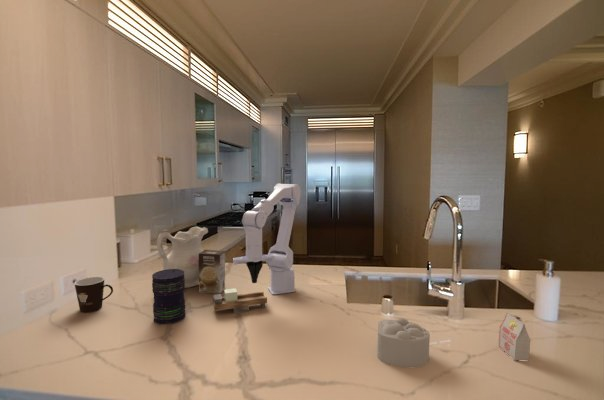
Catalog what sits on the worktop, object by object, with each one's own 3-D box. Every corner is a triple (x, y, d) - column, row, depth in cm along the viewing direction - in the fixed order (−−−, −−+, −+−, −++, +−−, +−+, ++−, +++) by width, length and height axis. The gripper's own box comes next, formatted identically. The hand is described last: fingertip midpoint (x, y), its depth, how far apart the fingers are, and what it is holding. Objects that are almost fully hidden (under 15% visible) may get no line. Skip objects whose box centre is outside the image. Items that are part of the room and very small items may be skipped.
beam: (263, 301, 116) (263, 287, 116) (267, 308, 110) (267, 293, 110) (213, 308, 110) (212, 294, 109) (214, 316, 104) (214, 300, 104)
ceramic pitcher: (177, 299, 120) (179, 236, 117) (146, 285, 130) (147, 227, 127) (218, 283, 138) (221, 228, 135) (189, 272, 148) (191, 220, 145)
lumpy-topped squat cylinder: (377, 341, 90) (378, 312, 89) (425, 348, 87) (427, 318, 86) (377, 363, 80) (378, 330, 79) (431, 371, 77) (433, 338, 76)
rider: (235, 298, 111) (235, 288, 111) (237, 302, 108) (237, 291, 107) (224, 299, 110) (224, 289, 109) (225, 303, 106) (225, 293, 106)
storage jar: (174, 326, 97) (172, 279, 96) (146, 323, 99) (144, 277, 98) (191, 312, 107) (190, 270, 105) (165, 309, 109) (164, 267, 107)
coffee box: (198, 292, 124) (197, 253, 123) (204, 287, 130) (204, 249, 129) (220, 294, 123) (219, 254, 122) (225, 288, 129) (225, 250, 128)
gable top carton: (511, 347, 88) (514, 312, 87) (528, 361, 81) (531, 324, 80) (498, 346, 88) (500, 312, 87) (514, 361, 81) (517, 324, 80)
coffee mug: (70, 310, 107) (69, 282, 106) (97, 301, 115) (95, 275, 114) (89, 318, 102) (88, 288, 101) (116, 308, 109) (114, 280, 108)
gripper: (234, 249, 104) (235, 288, 105) (276, 245, 109) (276, 283, 110) (231, 244, 110) (232, 281, 111) (271, 241, 115) (271, 277, 116)
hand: (254, 282), depth 111 cm, fingers closed
